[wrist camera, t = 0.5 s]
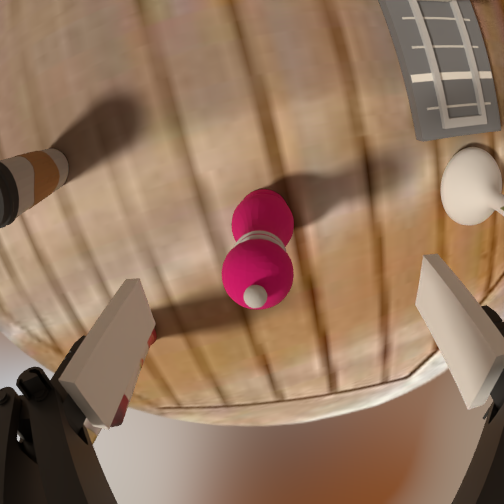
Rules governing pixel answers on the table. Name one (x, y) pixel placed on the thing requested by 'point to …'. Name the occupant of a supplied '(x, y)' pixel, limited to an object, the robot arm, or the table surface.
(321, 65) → the table surface
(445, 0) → the fader
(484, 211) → the flower in vase
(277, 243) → the pepper mill
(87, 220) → the table surface
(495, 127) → the panel
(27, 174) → the coffee cup
